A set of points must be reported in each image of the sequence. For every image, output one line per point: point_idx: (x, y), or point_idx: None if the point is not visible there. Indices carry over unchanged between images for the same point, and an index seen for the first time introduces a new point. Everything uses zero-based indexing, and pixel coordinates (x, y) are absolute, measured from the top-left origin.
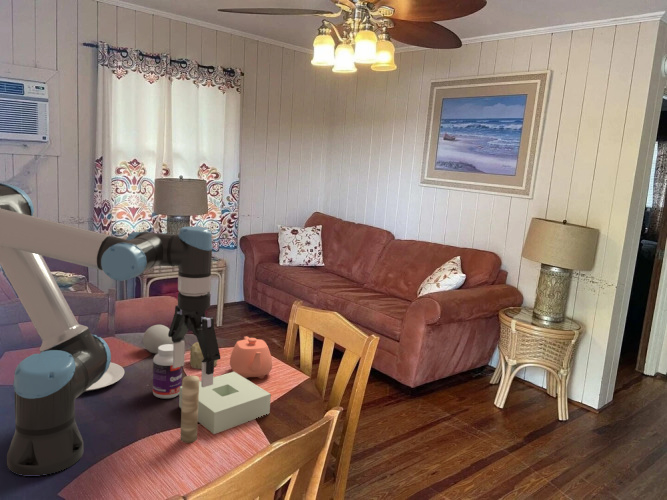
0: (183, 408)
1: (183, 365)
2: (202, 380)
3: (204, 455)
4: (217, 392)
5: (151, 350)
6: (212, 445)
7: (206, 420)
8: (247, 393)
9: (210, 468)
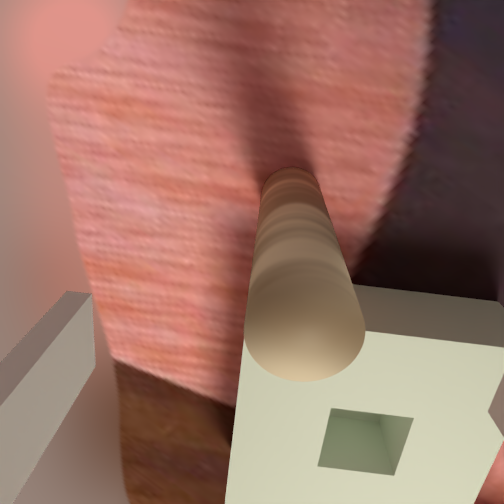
0: (293, 209)
1: (491, 409)
2: (50, 322)
3: (164, 170)
4: (400, 423)
5: None
6: (198, 227)
7: None
8: (282, 473)
9: (85, 137)
